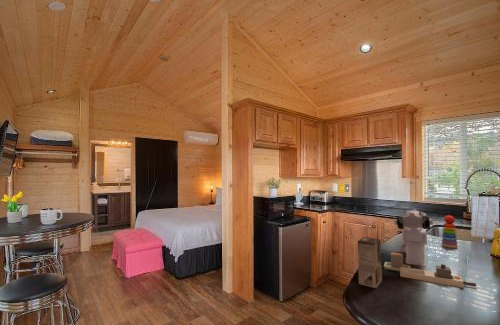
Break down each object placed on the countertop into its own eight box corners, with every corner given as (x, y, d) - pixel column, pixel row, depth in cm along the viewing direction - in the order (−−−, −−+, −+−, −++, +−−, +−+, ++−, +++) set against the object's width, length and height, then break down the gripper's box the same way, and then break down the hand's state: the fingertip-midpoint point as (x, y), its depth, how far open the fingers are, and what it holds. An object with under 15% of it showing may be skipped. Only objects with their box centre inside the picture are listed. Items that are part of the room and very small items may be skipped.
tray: (385, 264, 121) (385, 261, 121) (410, 268, 115) (410, 265, 115) (383, 269, 114) (383, 266, 114) (410, 273, 109) (410, 270, 109)
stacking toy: (446, 248, 153) (444, 216, 154) (438, 244, 161) (437, 214, 162) (461, 248, 151) (459, 216, 153) (452, 245, 159) (451, 214, 161)
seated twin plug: (436, 278, 103) (435, 262, 103) (450, 280, 101) (449, 264, 101) (437, 281, 99) (436, 265, 100) (451, 284, 97) (450, 267, 97)
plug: (391, 265, 118) (391, 251, 118) (403, 267, 115) (402, 253, 116) (391, 268, 114) (390, 254, 114) (402, 270, 112) (402, 255, 112)
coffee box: (365, 277, 104) (364, 236, 106) (382, 281, 100) (381, 239, 102) (357, 284, 97) (357, 240, 99) (376, 288, 93) (375, 243, 95)
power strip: (400, 272, 110) (400, 265, 111) (474, 284, 98) (473, 276, 98) (400, 277, 105) (400, 269, 105) (478, 291, 92) (477, 282, 92)
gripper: (394, 211, 124) (391, 216, 113) (430, 210, 116) (431, 215, 105) (396, 226, 123) (393, 232, 112) (433, 226, 115) (434, 233, 104)
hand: (412, 225), depth 108 cm, fingers open, 7 cm apart
